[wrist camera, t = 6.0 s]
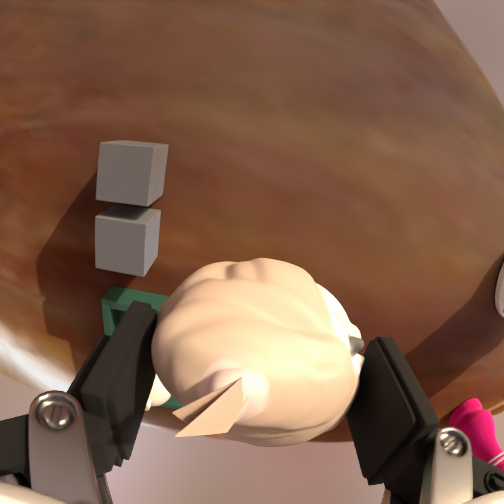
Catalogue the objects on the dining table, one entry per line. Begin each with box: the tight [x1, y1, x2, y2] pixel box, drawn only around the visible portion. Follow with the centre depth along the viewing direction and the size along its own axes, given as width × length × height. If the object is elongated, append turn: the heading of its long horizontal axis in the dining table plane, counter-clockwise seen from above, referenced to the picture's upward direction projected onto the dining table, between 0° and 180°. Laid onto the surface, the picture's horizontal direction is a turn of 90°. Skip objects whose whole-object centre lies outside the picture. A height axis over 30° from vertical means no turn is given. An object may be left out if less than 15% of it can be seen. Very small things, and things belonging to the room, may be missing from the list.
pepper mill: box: [449, 398, 504, 472], centre depth 27 cm, size 7×7×20 cm
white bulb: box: [145, 374, 171, 411], centre depth 26 cm, size 4×4×5 cm
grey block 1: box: [96, 140, 169, 207], centre depth 20 cm, size 4×4×4 cm
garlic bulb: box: [151, 258, 364, 447], centre depth 9 cm, size 7×6×8 cm
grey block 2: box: [95, 204, 161, 277], centre depth 22 cm, size 4×4×4 cm
